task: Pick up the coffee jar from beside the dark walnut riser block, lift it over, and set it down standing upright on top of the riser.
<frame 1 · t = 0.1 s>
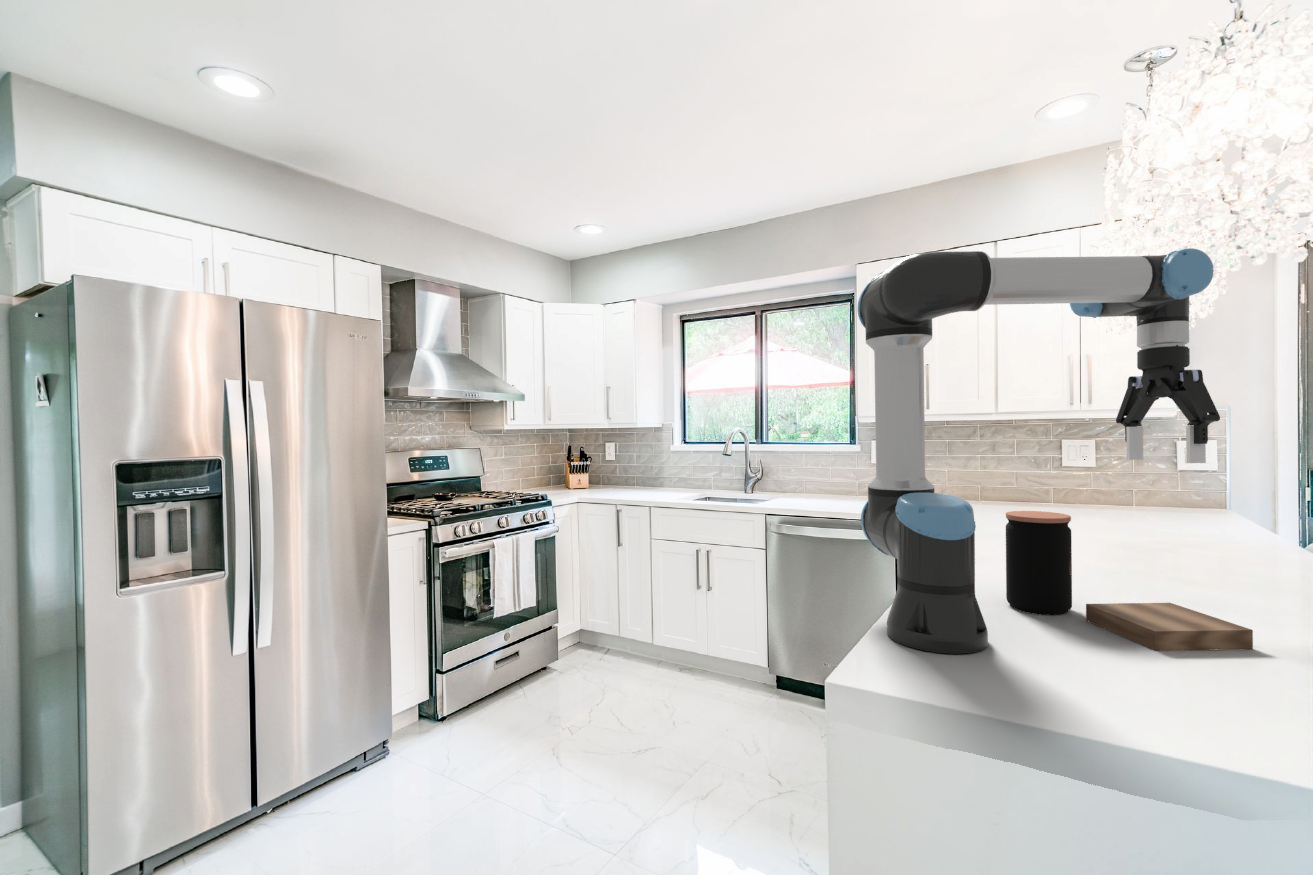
hand: (1163, 461, 113), 28 cm above the countertop, tool pointing down, fingers open, 13 cm apart
walnut riser: (1163, 634, 101), on the countertop
coffee jar: (1038, 609, 116), on the countertop
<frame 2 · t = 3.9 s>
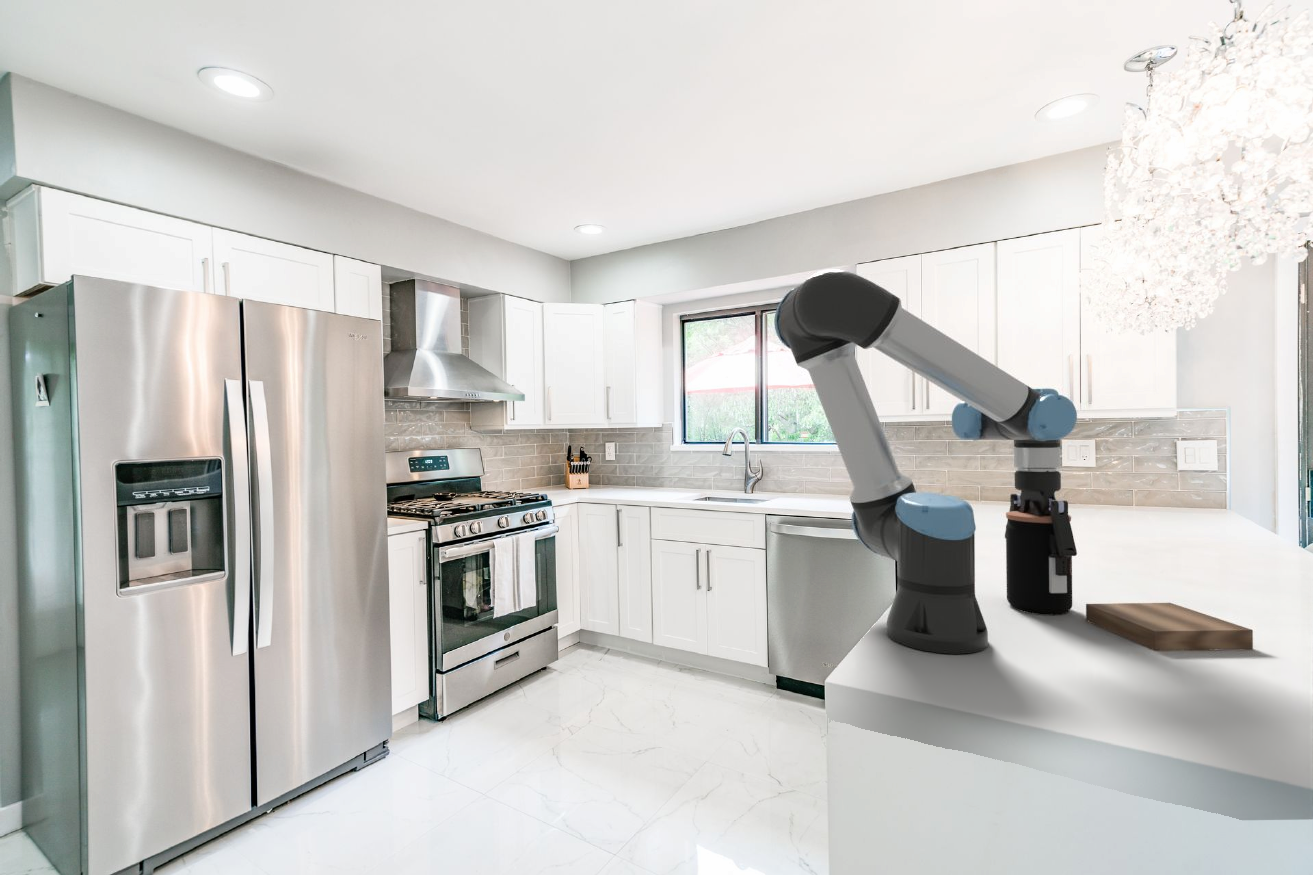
hand: (1038, 584, 116), 4 cm above the countertop, tool pointing down, fingers closed on coffee jar, 11 cm apart
coffee jar: (1038, 609, 116), on the countertop, touching gripper
when the fingers open (8 cm above the countertop, at t = 10.7 s): coffee jar stays where it is, resting on walnut riser.
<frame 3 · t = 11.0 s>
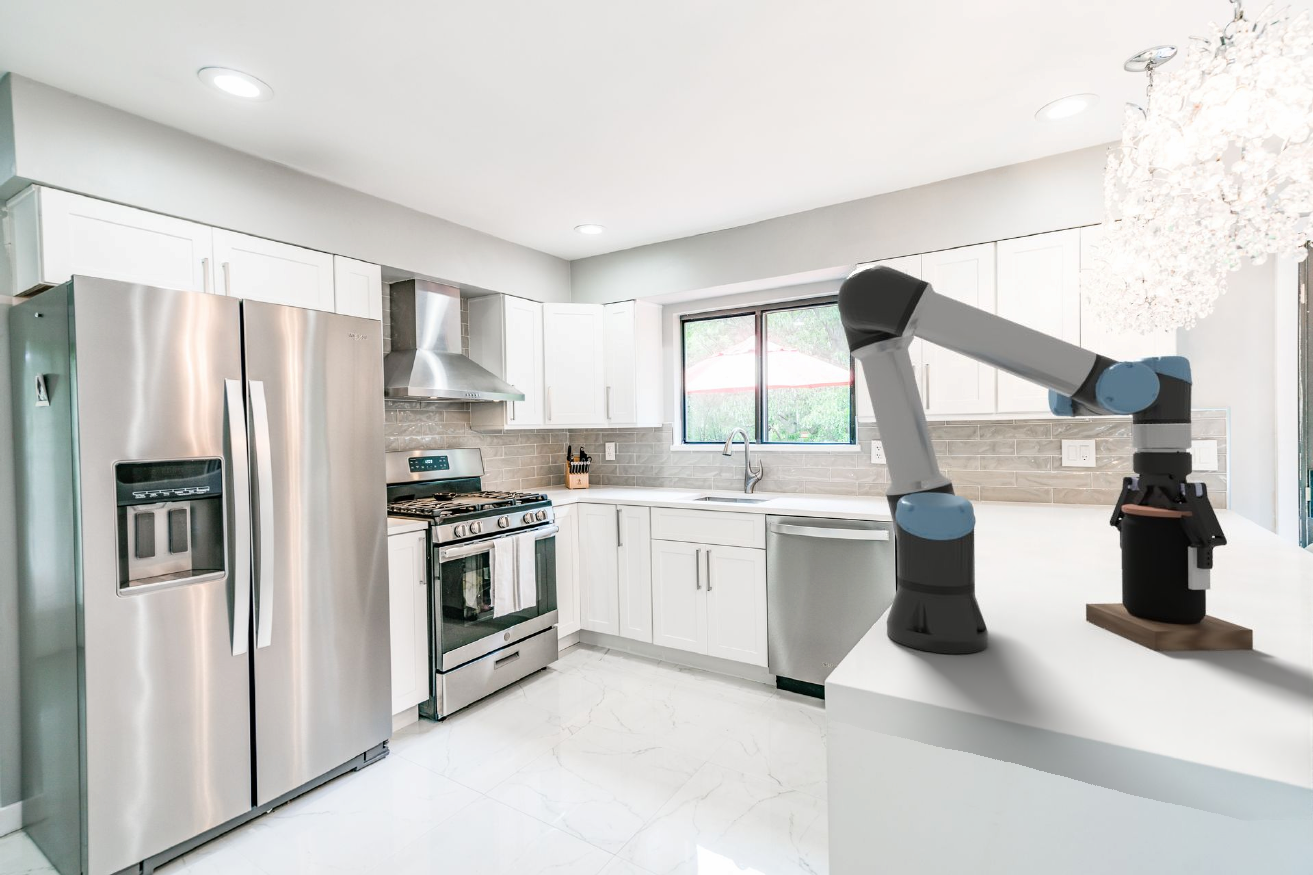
hand: (1162, 578, 101), 9 cm above the countertop, tool pointing down, fingers open, 13 cm apart
coffee jar: (1162, 617, 101), point 3 cm above the countertop, touching walnut riser
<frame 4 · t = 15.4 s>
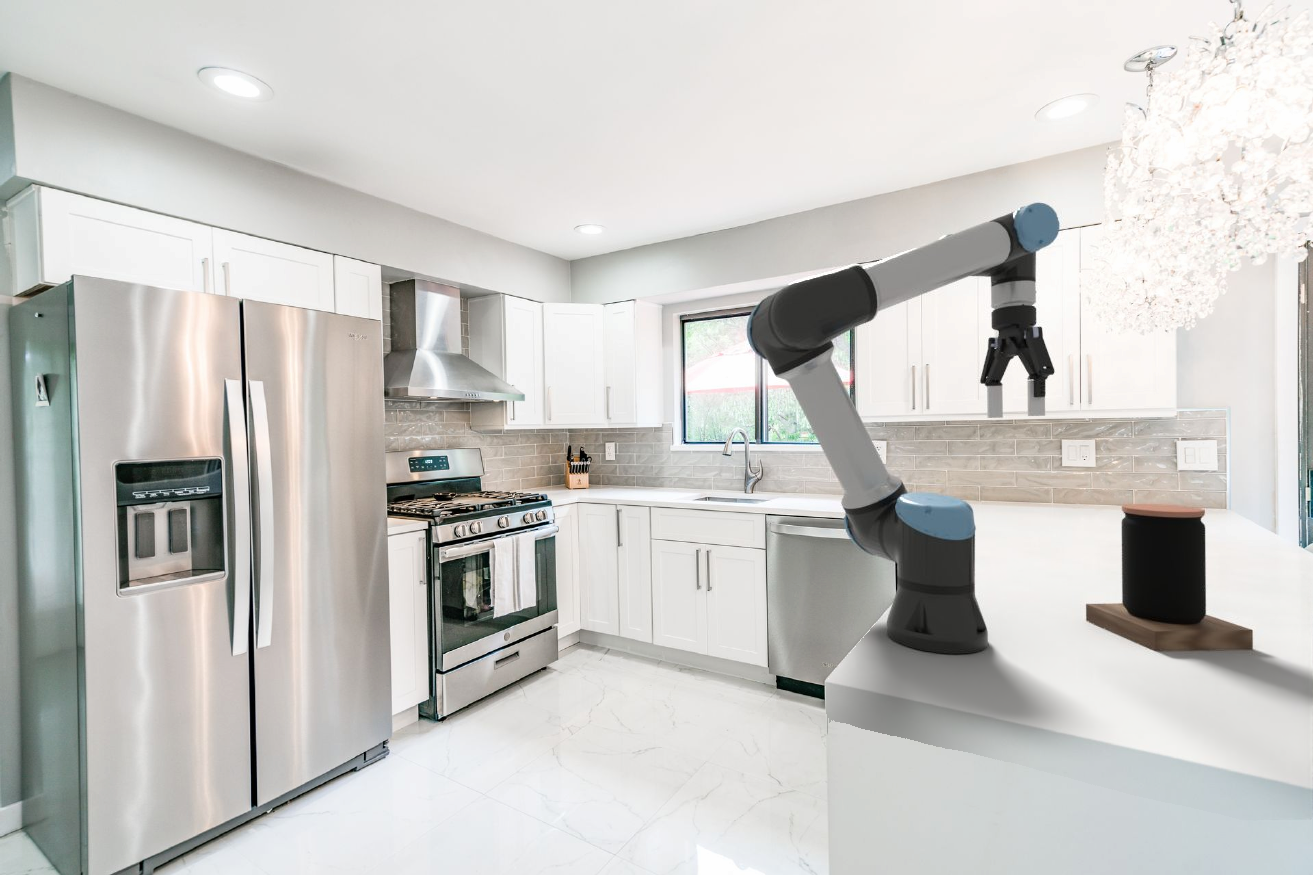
hand: (1014, 417, 118), 37 cm above the countertop, tool pointing down, fingers open, 13 cm apart
nothing on the countertop moved.
at the end: coffee jar inside the target area on the walnut riser (0.1 cm from its centre), point 2.8 cm above the walnut riser's base; coffee jar tilted 0°; the gripper is holding nothing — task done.
